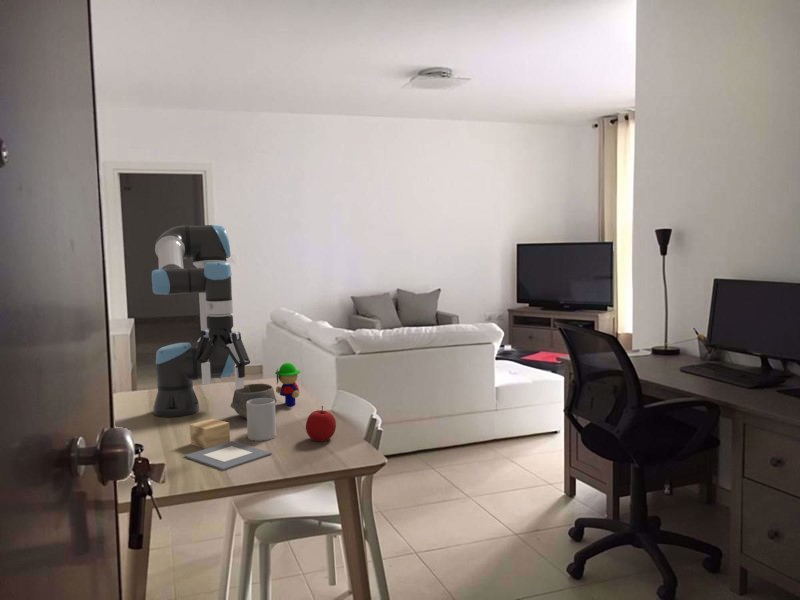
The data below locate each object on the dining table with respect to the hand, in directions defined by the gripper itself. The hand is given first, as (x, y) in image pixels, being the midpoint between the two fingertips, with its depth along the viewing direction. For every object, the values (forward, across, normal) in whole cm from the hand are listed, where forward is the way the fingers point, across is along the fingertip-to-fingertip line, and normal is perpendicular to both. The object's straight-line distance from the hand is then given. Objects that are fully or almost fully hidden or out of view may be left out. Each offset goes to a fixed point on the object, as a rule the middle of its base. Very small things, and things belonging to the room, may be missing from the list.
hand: (222, 386), depth 205 cm
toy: (+16, -11, +42) cm, 47 cm away
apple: (+17, +25, +14) cm, 33 cm away
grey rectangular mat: (+16, +11, -10) cm, 22 cm away
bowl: (+16, -10, +24) cm, 31 cm away
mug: (+17, +6, +9) cm, 20 cm away
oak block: (+17, -2, -4) cm, 17 cm away
